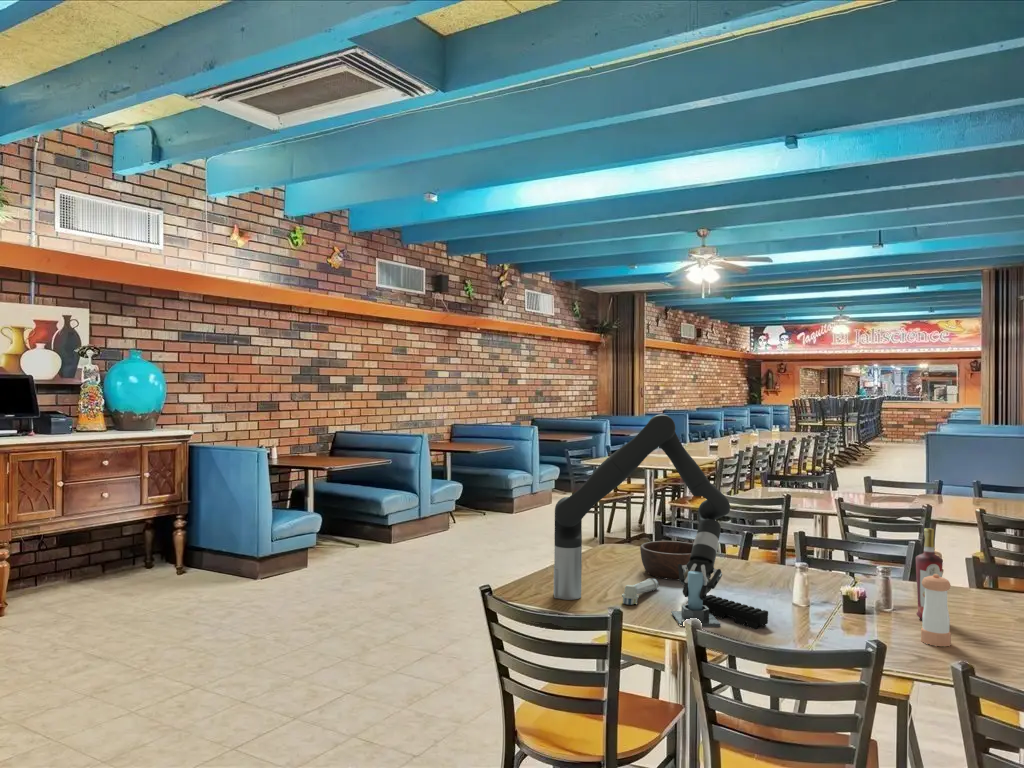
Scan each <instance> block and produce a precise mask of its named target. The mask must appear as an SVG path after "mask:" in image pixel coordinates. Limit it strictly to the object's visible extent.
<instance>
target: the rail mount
mask: <svg viewBox="0 0 1024 768" xmlns="http://www.w3.org/2000/svg"><path fill="white" fill-rule="evenodd" d="M703 605H705V606H707V607H708V608H709V611H710V613H711V614H712V615H713V616H714V617H715V616H716V617H715V618H720V619H723V620H724V618H725V616H727V617H730V618H734V623H735V624H738V625H740V626H745V627H748V628H750V627H751V629H753V628H754V630H758V626H760V627H761V626H764V627H766V625H767V624H768V623H769V611H768V610H766V609H763V610H762V609H761V608H758V607H756V608H755V606H751V605H750V606H748V605H747V604H742V603H741V602H735V601H733V600H729V599H727V598H722V597H719V596H718V597H717V596H716V595H713V594H708V595H706V598H704V600H703Z"/></svg>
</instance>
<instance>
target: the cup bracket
mask: <svg viewBox="0 0 1024 768" xmlns="http://www.w3.org/2000/svg"><path fill="white" fill-rule="evenodd" d="M671 613H672V615H673V616H674V617H675V619H676V620H677V621H678V623H679V624H680V625H682V626H683V622H684V621H685V620H686V619H690V618H697V619H699V620H700V621H701V623H702V626H703V627H702V628H704V627H705V628H707V627H708V628H721V622H720V621H719V620H718V619H717V617H715V616H713V615H712V614H711V613H710V611H709V608H708V607H707V606H705V605H703V610H691V609H688V603H686V604H682V605H681V611H679V610H671V611H670V614H671ZM672 615H671V616H672ZM673 616H672V617H673ZM674 617H673V618H674ZM675 619H674V620H675ZM676 620H675V621H676ZM678 623H677V624H678ZM679 624H678V625H679Z"/></svg>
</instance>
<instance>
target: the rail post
mask: <svg viewBox="0 0 1024 768" xmlns="http://www.w3.org/2000/svg"><path fill="white" fill-rule="evenodd" d="M702 586H703V573H702V572H698V571H689V572H688V597H687V604H688V609H691V610H703V600H701V599H700V593H701V588H702Z"/></svg>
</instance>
